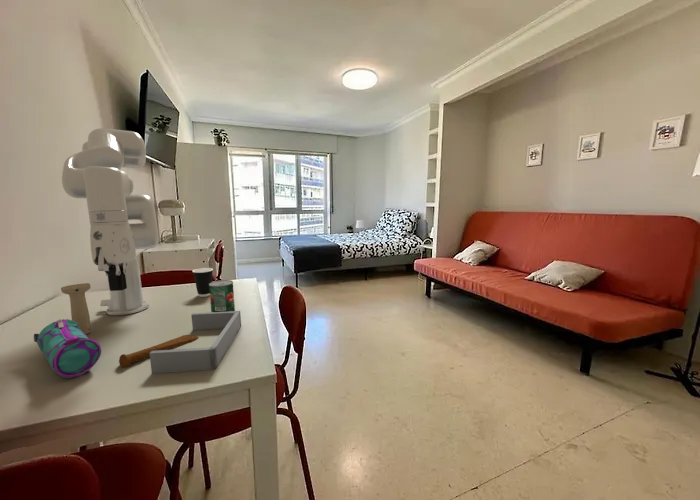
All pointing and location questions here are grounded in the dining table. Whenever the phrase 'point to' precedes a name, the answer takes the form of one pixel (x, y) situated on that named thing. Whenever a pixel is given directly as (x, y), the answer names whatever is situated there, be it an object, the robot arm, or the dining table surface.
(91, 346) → the pencil case
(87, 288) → the handle
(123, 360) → the primitive tool
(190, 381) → the dining table surface
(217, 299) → the canned tomato
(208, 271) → the dixie cup
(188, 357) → the box
